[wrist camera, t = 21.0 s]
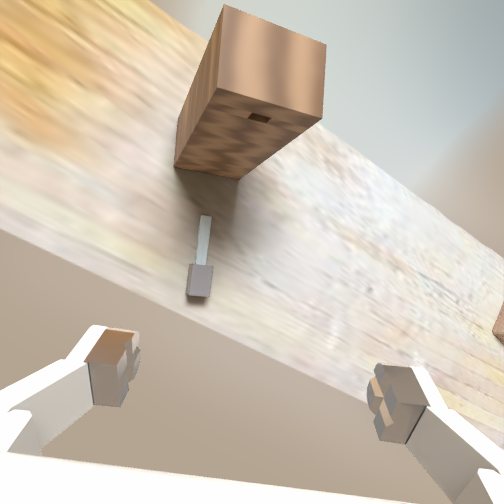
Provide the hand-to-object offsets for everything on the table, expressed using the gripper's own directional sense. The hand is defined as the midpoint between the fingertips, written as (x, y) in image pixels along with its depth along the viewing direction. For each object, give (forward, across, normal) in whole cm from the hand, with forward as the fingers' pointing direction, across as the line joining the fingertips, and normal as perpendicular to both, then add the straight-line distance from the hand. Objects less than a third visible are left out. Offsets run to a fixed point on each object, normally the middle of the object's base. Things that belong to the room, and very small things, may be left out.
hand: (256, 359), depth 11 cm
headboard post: (+62, -12, -5) cm, 63 cm away
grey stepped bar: (+50, -10, -24) cm, 57 cm away
